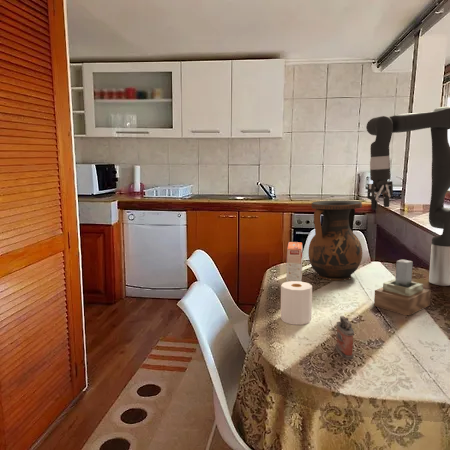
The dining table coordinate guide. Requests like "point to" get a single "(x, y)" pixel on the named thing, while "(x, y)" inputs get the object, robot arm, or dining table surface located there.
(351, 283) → the dining table surface
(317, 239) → the vase
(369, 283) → the dining table surface
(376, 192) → the robot arm
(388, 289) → the stand
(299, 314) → the toilet paper
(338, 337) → the lighter
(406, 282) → the peg
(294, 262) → the cracker box
